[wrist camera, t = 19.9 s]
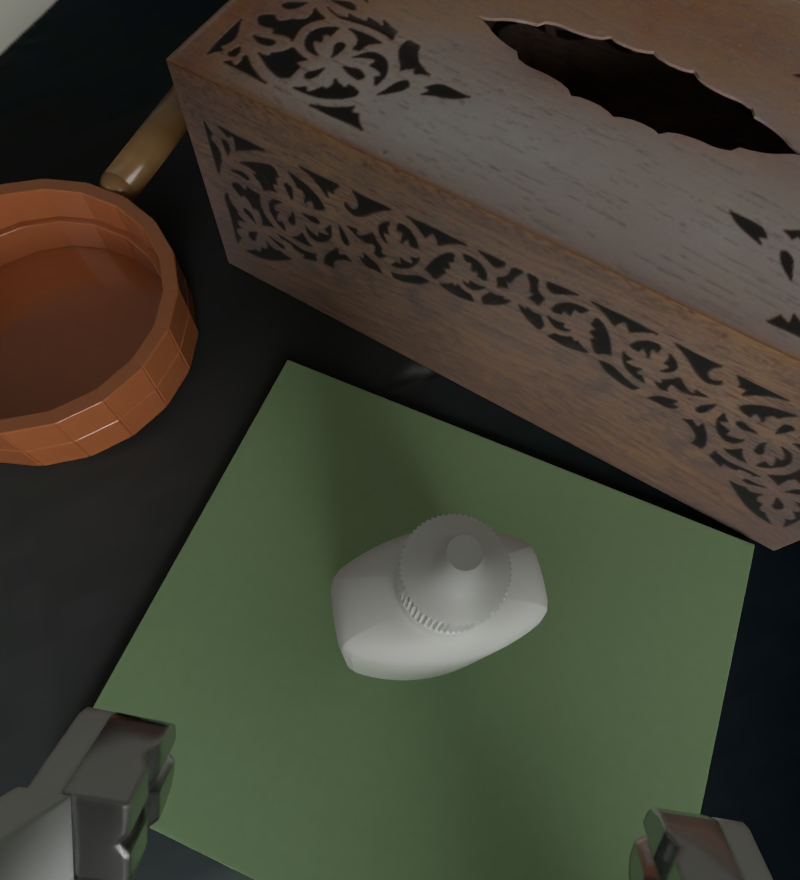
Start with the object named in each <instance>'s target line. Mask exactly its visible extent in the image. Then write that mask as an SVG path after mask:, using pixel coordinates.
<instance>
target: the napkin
mask: <svg viewBox="0 0 800 880" xmlns="http://www.w3.org/2000/svg"><path fill="white" fill-rule="evenodd" d="M448 513H449V514H451V515H453V514H454V513H455V514H456V515H459V514H461V515H462V516H464V515H467V516H468V517H470V516H472V517H473V519H476V518H477V519H478V521H482V522H483V524H487V525H488V527H490V528H492V531H495V532H499V533H503V534H507V535H510V536H513V537H516V538H518V539H521V540H523V541H524V542H526V543H527V544H529V545H530V546H531V547H532V549H533V551H534V552H535V554H536V556H537V559H538V562H539V565H540V568H541V572H542V576H543V580H544V584H545V589H546V594H547V600H548V603H547V612H546V614H545V615H544V617H543V619H542V620H541V622H540V623H539V624H538V625H537V626H535V627H534V628H533V629H532V630H531V631H529V632H528V633H527V634H525V635H524V636H522V637H521V638H519V639H518V640H516V641H514V642H513V643H511V644H509V645H507V646H506V647H504V648H502V649H500V650H498V651H496V652H494V653H492V654H490V655H488V656H486V657H484V658H482V659H480V660H478V661H476V662H474V663H472V664H470V665H468V666H466V667H464V668H461V669H459V670H456V671H453V672H451V673H448V674H444V675H441V676H437V677H432V678H426V679H419V680H387V679H379V678H373V677H369V676H365V675H361V674H358V673H355V672H354V671H353V670H351V669H350V668H349V667H348V666H347V664H346V661H345V659H344V657H343V655H342V652H341V650H340V648H339V645H338V641H337V636H336V631H335V624H334V617H333V609H332V601H331V586H332V581H333V578H334V577H335V575H336V574H337V573H338V571H339V570H340V569H341V568H342V567H344V566H345V565H346V564H348V563H349V562H350V561H352V560H353V559H355V558H357V557H358V556H360V555H361V554H363V553H365V552H367V551H368V550H370V549H372V548H374V547H376V546H378V545H380V544H382V543H385V542H387V541H389V540H392V539H395V538H398V537H400V536H403V535H407V534H410V533H412V532H413V530H416V529H417V526H421V524H422V523H426V520H431V518H432V517H433V518H436V517H437V515H438V516H442V514H444V515H446V516H447V514H448ZM754 546H755V545H754V544H751V543H749V542H746V541H744V540H741V539H738V538H736V537H733V536H731V535H728V534H726V533H723V532H721V531H718V530H716V529H713V528H711V527H708V526H706V525H703V524H701V523H698V522H696V521H693V520H691V519H688V518H685V517H683V516H680V515H678V514H675V513H673V512H670V511H668V510H665V509H663V508H660V507H658V506H655V505H653V504H650V503H648V502H645V501H643V500H640V499H638V498H635V497H633V496H630V495H627V494H625V493H622V492H620V491H617V490H615V489H612V488H610V487H607V486H605V485H602V484H600V483H597V482H595V481H592V480H590V479H587V478H585V477H582V476H580V475H577V474H574V473H572V472H569V471H567V470H564V469H562V468H559V467H557V466H554V465H552V464H549V463H547V462H544V461H542V460H539V459H537V458H534V457H532V456H529V455H527V454H524V453H521V452H519V451H516V450H514V449H511V448H509V447H506V446H504V445H501V444H499V443H496V442H494V441H491V440H489V439H486V438H484V437H481V436H479V435H476V434H474V433H471V432H469V431H466V430H463V429H461V428H458V427H456V426H453V425H451V424H448V423H446V422H443V421H441V420H438V419H436V418H433V417H431V416H428V415H426V414H423V413H421V412H418V411H416V410H413V409H410V408H408V407H405V406H403V405H400V404H398V403H395V402H393V401H390V400H388V399H385V398H383V397H380V396H378V395H375V394H373V393H370V392H368V391H365V390H363V389H360V388H358V387H355V386H352V385H350V384H347V383H345V382H342V381H340V380H337V379H335V378H332V377H330V376H327V375H325V374H322V373H320V372H317V371H315V370H312V369H310V368H307V367H305V366H302V365H299V364H297V363H294V362H292V361H289V360H287V362H286V364H285V365H284V367H283V369H282V371H281V373H280V374H279V376H278V378H277V380H276V381H275V383H274V385H273V387H272V389H271V390H270V392H269V394H268V396H267V398H266V399H265V401H264V403H263V405H262V406H261V408H260V410H259V412H258V414H257V415H256V417H255V419H254V421H253V423H252V424H251V426H250V428H249V430H248V431H247V433H246V435H245V437H244V439H243V440H242V442H241V444H240V446H239V448H238V449H237V451H236V453H235V455H234V456H233V458H232V460H231V462H230V464H229V465H228V467H227V469H226V471H225V473H224V474H223V476H222V478H221V480H220V481H219V483H218V485H217V487H216V489H215V490H214V492H213V494H212V496H211V498H210V499H209V501H208V503H207V505H206V506H205V508H204V510H203V512H202V514H201V515H200V517H199V519H198V521H197V523H196V524H195V526H194V528H193V530H192V531H191V533H190V535H189V537H188V539H187V540H186V542H185V544H184V546H183V547H182V549H181V551H180V553H179V555H178V556H177V558H176V560H175V562H174V564H173V565H172V567H171V569H170V571H169V572H168V574H167V576H166V578H165V580H164V581H163V583H162V585H161V587H160V589H159V590H158V592H157V594H156V596H155V597H154V599H153V601H152V603H151V605H150V606H149V608H148V610H147V612H146V614H145V615H144V617H143V619H142V621H141V622H140V624H139V626H138V628H137V630H136V631H135V633H134V635H133V637H132V639H131V640H130V642H129V644H128V646H127V647H126V649H125V651H124V653H123V655H122V656H121V658H120V660H119V662H118V664H117V665H116V667H115V669H114V671H113V672H112V674H111V676H110V678H109V680H108V681H107V683H106V685H105V687H104V689H103V690H102V692H101V694H100V696H99V697H98V699H97V701H96V703H95V705H94V706H93V708H96V709H101V710H107V711H112V712H119V713H123V714H128V715H133V716H138V717H143V718H148V719H153V720H158V721H163V722H167V723H172V724H174V725H176V740H175V742H174V744H173V746H172V749H171V751H170V754H171V755H172V756H173V758H174V759H175V766H174V775H173V780H172V785H171V789H170V792H169V795H168V798H167V801H166V804H165V807H164V809H163V811H162V814H161V816H160V818H159V820H158V821H157V822H155V823H154V824H153V825H151V826H150V828H152V829H154V830H156V831H158V832H160V833H162V834H164V835H166V836H168V837H170V838H172V839H174V840H176V841H178V842H180V843H182V844H184V845H186V846H188V847H190V848H192V849H194V850H196V851H198V852H200V853H202V854H204V855H206V856H208V857H210V858H212V859H214V860H216V861H218V862H220V863H222V864H224V865H226V866H228V867H230V868H232V869H235V870H237V871H239V872H241V873H243V874H245V875H247V876H249V877H251V878H253V879H255V880H629V875H628V870H629V857H630V853H631V850H632V847H633V844H634V842H635V840H637V839H638V838H640V837H642V836H643V835H645V834H646V832H645V828H644V825H643V820H644V818H645V816H646V814H647V811H649V810H650V809H651V808H652V807H656V808H662V809H668V810H674V811H680V812H687V813H693V814H699V815H700V811H701V806H702V801H703V796H704V791H705V787H706V782H707V777H708V772H709V767H710V762H711V757H712V752H713V747H714V742H715V738H716V733H717V728H718V723H719V718H720V713H721V708H722V703H723V698H724V693H725V689H726V684H727V679H728V674H729V669H730V664H731V659H732V654H733V649H734V644H735V640H736V635H737V630H738V625H739V620H740V615H741V610H742V605H743V600H744V595H745V591H746V586H747V581H748V576H749V571H750V566H751V561H752V556H753V551H754Z"/></svg>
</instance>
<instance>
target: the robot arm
mask: <svg viewBox="0 0 800 880" xmlns="http://www.w3.org/2000/svg"><path fill="white" fill-rule="evenodd" d="M175 740H176V725H174V724H172V723H167V722H163V721H158V720H153V719H148V718H143V717H138V716H133V715H128V714H123V713H119V712H112V711H107V710H101V709H96V708H91V707H87V708H85V709H84V710H83V711H81V712H80V713H79V714H78V715H77V717H76V718H75V720H74V721H73V722H72V724H71V725H70V727H69V728H68V730H67V731H66V732H65V734H64V735H63V737H62V738H61V740H60V741H59V742H58V744H57V745H56V747H55V748H54V750H53V751H52V752H51V754H50V755H49V757H48V758H47V760H46V761H45V763H44V764H43V765H42V767H41V768H40V770H39V771H38V773H37V774H36V775H35V777H34V778H33V780H32V781H31V783H30V784H29V785H28V787H27V788H25V787H19V786H18V787H16V788H14V789H13V790H11V791H9V792H7V793H6V794H4V795H2V796H1V797H0V880H74V878H75V879H82V880H132V877H133V875H134V873H135V871H136V869H137V866H138V864H139V862H140V860H141V858H142V856H143V853H144V851H145V849H146V847H147V828H149V827H150V826H151V825H153V824H154V823H155V822H157V821H158V820H159V818H160V816H161V814H162V811H163V809H164V807H165V804H166V801H167V798H168V795H169V792H170V789H171V785H172V780H173V775H174V766H175V759H174V758H173V756H172V755H171V754H170V751H171V749H172V746H173V744H174V742H175ZM643 825H644V828H645V832H646V834H645V835H643V836H642V837H640V838H638V839H637V840H635V842H634V844H633V847H632V850H631V853H630V857H629V870H628V875H629V880H773V878H772V876H771V874H770V872H769V870H768V868H767V866H766V864H765V861H764V859H763V857H762V855H761V853H760V851H759V849H758V847H757V845H756V842H755V840H754V838H753V836H752V834H751V832H750V830H749V828H748V827H747V826H746V825H745V824H744V823H743V822H738V821H732V820H726V819H721V818H715V817H709V816H705V815H699V814H693V813H687V812H680V811H674V810H668V809H662V808H656V807H652V808H651V809H650V810H649V811H647V814H646V816H645V818H644V820H643Z"/></svg>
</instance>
